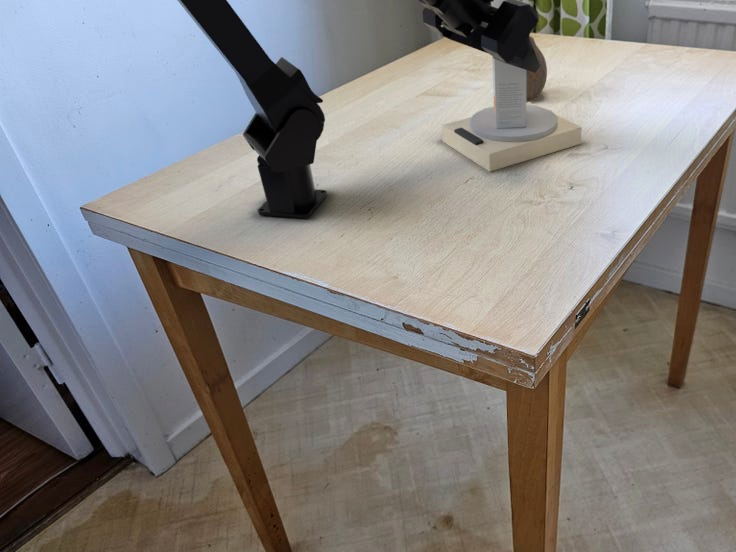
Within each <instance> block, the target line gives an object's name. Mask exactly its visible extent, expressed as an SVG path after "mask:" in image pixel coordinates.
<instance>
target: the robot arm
mask: <svg viewBox="0 0 736 552" xmlns="http://www.w3.org/2000/svg"><path fill="white" fill-rule="evenodd" d="M494 1H495V0H418V2H419V4H421V6H423V10H422V23H423V24H424V25H425V26H426V27H427V28H428V29H430V31H431V32H433V33H436V34H438V35H440V36H441V37H443V38H445V39H447V40H450V41H453V42H455V43H458V44H461V45H464V46H467V47H469V48H472V49H474V50H477V51H480V52H483V53H486V54H488V55H490V56H491V57H492V59H493V58H494V59H496V60H499V61H501V62H503V63H506V64H509V65H512V66H516V67H518V68H522V69H525V70H528V71H531V72H533V73H536V72H537V70H538V69H539V67H540V64H539V61H538V58H537V56H536V53H535V51H534V48H533V46H532V43H531V39H530V36H531V35H530V34H531V33H532V32H533V30H534V28H535V27H536V26H537V24H538V23H539V21H540V17H539V16H540V15H539V14H538V13H537V11H536V10H535V9H534V8H533V6H531V4H530V3H526V2H523V1H521V0H502V2H501V4H500V5H499V7H496V6H492V5H490V3H493V2H494ZM177 3H179V4H180V6H181V7H182V8H183V9H184V11H185V12H186V14H188V15H189V17H190V18H191V19H192V21H193V22H194V23H195V24H196V25H197V27H198V28H199V30H201V32H202V33H203V34H204V35H205V37H206V38H207V39H208V40H209V42H210V43H211V44H212V46H213V47H214V48H215V49H216V50H217V52H218V54H220V55H221V57H222V58H223V59H224V60H225V62H226V63H227V64H228V65H229V67H230V68H231V69H232V70H233V72H234V73H235V75H236V76H237V78H238V80H239V82H240V84H241V87H242V89H243V91H244V93H245V95H246V97H247V99H248V101H249V102H250V105H251V106H252V108H253V110H254V111H255V113H254V115H252V118H251V120H250V121H249V123H248V125H247V126H246V128H245V130H244V131H243V133H242V136H243V138H244V139H245V141H246V142H247V144H248V145H249V146H250V148H251V149H252V150H253V151H254V152H256V153H257V155H258V156H257V158H256V162H257V170H258V174H259V177H260V182H261V185H262V188H263V192H264V196H265V200H266V201H265V202H264V203H263V204H262V205H261V206H259V208H258V209H257V213H258V215H260V216H271V217H272V216H273V217H285V218H297V219H307V218H309V217H310V216H311V215H312V214H313V213H314V212H315V210H316V209H317V208H318V207H319V205H321V203H322V202H323V201H324V199H325V198H327V196H328V191H327V190H326V189H317V188H316V187H315V182H314V178H313V173H312V167H311V165H312V164H314V163H315V156H316V149H317V142H318V140H319V139H320V138H321V136H322V133H323V131H324V127H325V122H326V117H325V113H324V111H323V110H322V107H321V105H319V104H322V103H323V102H324V100H323V98H321V97H320V96H319V95H317V94H316V93H315V92H314V91H313V90H312V88H311V87H310V85H309V83H308V81H307V79H306V77H305V75H304V74H303V72H302V70H301V69H300V68H298V67H296V65H294V64H292V63H291V62H290V61H288V60H287V59H286V58H284V57H283V56H281V57H280V58H279V59H278V61H277V62H276V63H275V62H274V61H273V60H272V59H271V58H270V56H269V55H268V53H266V51H265V50H264V48H263V47H262V46H261V45H260V43H259V42H258V40H257V39H256V37H254V35H253V34H252V32H251V31H250V30H249V28H248V27H247V26H246V24H245V23H244V21H243V20H242V19H241V18H240V16H239V15H238V14H237V12H236V11H235V9H234V8H233V7H232V5H231V4H230V3H229V1H228V0H177Z"/></svg>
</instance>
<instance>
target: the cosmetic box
mask: <svg viewBox="0 0 736 552" xmlns="http://www.w3.org/2000/svg"><path fill="white" fill-rule="evenodd" d="M492 85H493V86H492V87H493V106H494V113H495V120H496V128H520V127H526V103H527V100H526V70H525V69H522V68H518V67H516V66H512V65H509V64H506V63H503V62H501V61H499V60H496V59H494V58H493V57H492Z"/></svg>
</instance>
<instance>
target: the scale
mask: <svg viewBox="0 0 736 552" xmlns="http://www.w3.org/2000/svg"><path fill="white" fill-rule="evenodd" d="M582 131H583V127H582V126H581V125H578V124H577V123H575V122H572V121H570V120H568V119H566V118H564V117H562V116H560V115H558V114H556V113H554V112H553V111H552V110H550V109H547V108H545V107H542V106H539V105H537V104H534V103H533V102H531V101H528V102H527V101H526V127H520V128H496V120H495V113H494V105H493V106H490V107H486V108H483V109H481V110H479V111H477V112H475V113H474V114H473V115H472V116H470V117H467V118H463V119H459V120H454V121H451V122H448V123H444V124H441V135H442V136H441V137H442V143H444V144H445V145H448V146H449V147H451V148H452V149H454V150H455V151H456V152H458V153H460V154H461V155H463V156H464V157H466V158H468V159H469V160H470V161H473V162H474V163H476V164H477V165H479V166H480V167H482V168H483V169H484V170H486V171H488V172H490V173H491V172H493V171H497V170H500V169H503V168H507V167H510V166H513V165H517V164H520V163H523V162H526V161H530V160H532V159H537V158H540V157H543V156H545V155H550V154H553V153H555V152H560V151H563V150H565V149H568V148H572V147H575V146H579V145H581V144H582Z"/></svg>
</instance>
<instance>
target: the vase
mask: <svg viewBox="0 0 736 552" xmlns="http://www.w3.org/2000/svg"><path fill="white" fill-rule="evenodd" d="M530 39H531V43H532V46H533V48H534V51H535V53H536V56H537V58H538V61H539V64H540V67H539V69H538V70H537V72H536V73H533V72H531V71H528V70H526V101H530V100H533V99H536V98H538V96H539V95H540V94H541V93H542V92H543V91H544V89H545V85H546V84H547V78H548V67H547V62H546V59H545V55H544V54H543V53H542V50H541V49H540V48H539V47H538V46H537V44H536V41H535V39H534V37H533V36H531V35H530Z"/></svg>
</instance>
